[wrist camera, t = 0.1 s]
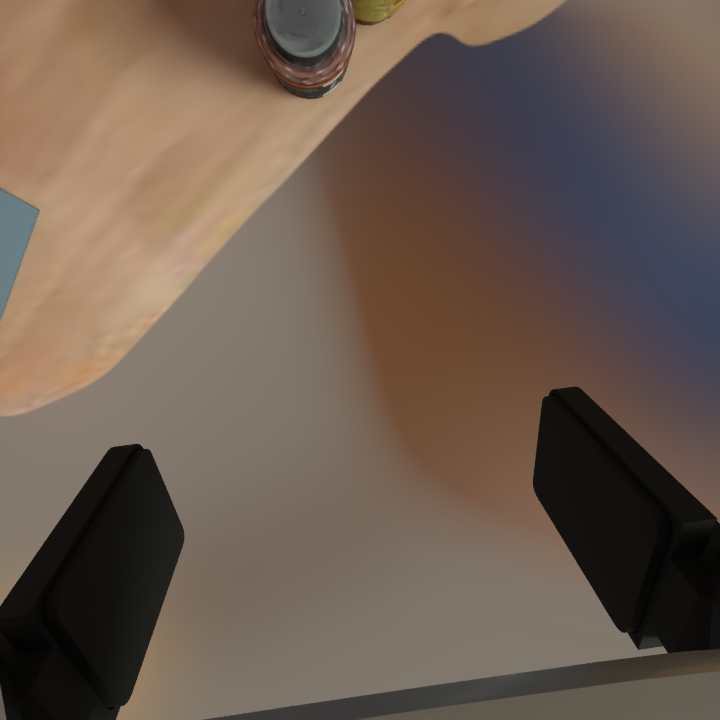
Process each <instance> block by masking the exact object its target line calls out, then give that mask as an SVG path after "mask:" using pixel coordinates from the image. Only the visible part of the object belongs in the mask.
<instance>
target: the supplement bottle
mask: <svg viewBox="0 0 720 720" xmlns="http://www.w3.org/2000/svg"><path fill="white" fill-rule="evenodd" d="M253 20H254V30H255V36H256V40H257V43H258V46H259V49H260V51H261V53H262V55H263V57H264V58H265V60H266V61H267V63H268V65H269V66H270V68H271V69H272V71H273V72H274V74H275V76H276V77H277V79H278V80H279V82H280V83H281V84H282V86H283V87H284V88H285V89H286V90H288V91H289V92H291V93H292V94H294V95H296V96H298V97H301V98H305V99H317V98H320V97H323V96H325V95H327V94H329V93H330V92H332V91H333V90H334V89H335V88H336V87H337V86H338V85H339V83H340V82H341V81H342V78H343V76H344V74H345V72H346V69H347V67H348V63H349V60H350V56H351V54H352V50H353V46H354V41H355V32H356V23H355V14H354V9H353V5H352V2H351V0H255V5H254V14H253Z"/></svg>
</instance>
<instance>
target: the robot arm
mask: <svg viewBox="0 0 720 720" xmlns="http://www.w3.org/2000/svg"><path fill="white" fill-rule="evenodd" d="M533 487H534V491H535V493H536V496H537V497H538V499H539V501H540V502H541V504H542V506H543V507H544V509H545V511H546V512H547V514H548V516H549V517H550V519H551V520H552V522H553V523H554V525H555V527H556V529H557V530H558V532H559V534H560V535H561V537H562V538H563V540H564V542H565V544H566V545H567V547H568V548H569V550H570V552H571V553H572V555H573V557H574V558H575V560H576V561H577V563H578V565H579V567H580V568H581V570H582V572H583V573H584V575H585V576H586V578H587V580H588V581H589V583H590V585H591V586H592V588H593V590H594V591H595V593H596V595H597V596H598V598H599V600H600V601H601V603H602V604H603V606H604V608H605V609H606V611H607V613H608V614H609V616H610V617H611V619H612V621H613V623H614V624H615V625H616V627H617V628H618V629H619V630H620V631H621V632H623V633H625V632H627V633H628V634H629V636H630V637H631V639H632V641H633V642H634V644H635V645H636V647H637V649H638V650H640V649H647V648H653V647H660V646H664V648H665V649H666V651H667V652H668V653H667V654H659V655H651V656H643V657H635V658H626V659H618V660H610V661H602V662H594V663H586V664H580V665H572V666H565V667H558V668H551V669H544V670H537V671H530V672H523V673H516V674H509V675H502V676H495V677H488V678H480V679H473V680H467V681H459V682H453V683H446V684H439V685H432V686H425V687H418V688H411V689H404V690H398V691H391V692H384V693H378V694H371V695H364V696H357V697H350V698H343V699H337V700H330V701H323V702H316V703H310V704H303V705H297V706H289V707H283V708H276V709H270V710H263V711H257V712H250V713H243V714H237V715H230V716H224V717H217V718H211V719H204V720H720V523H718V522H717V518H716V517H715V516H714V515H713V514H712V513H711V512H710V511H709V510H708V509H707V508H706V507H705V506H704V505H702V504H701V503H700V502H699V501H698V500H697V499H696V498H695V497H694V496H693V495H692V494H691V493H690V492H689V491H688V490H687V489H686V488H685V487H684V486H682V485H681V484H680V483H679V482H678V481H677V480H676V479H675V478H674V477H673V476H672V475H671V474H670V473H669V472H667V470H666V469H665V468H664V467H663V466H661V465H660V464H659V463H658V462H657V461H656V460H655V459H654V458H653V457H652V456H651V455H650V454H649V453H648V452H647V451H646V450H645V449H643V447H641V446H640V445H639V444H638V443H637V442H636V441H635V440H634V439H633V438H632V437H631V436H630V435H629V434H628V433H627V432H626V431H625V430H624V429H623V428H621V427H620V426H619V425H618V424H617V423H616V422H615V421H614V420H613V419H612V418H611V417H610V416H609V415H608V414H607V413H606V412H605V411H604V410H603V409H602V408H600V407H599V406H598V405H597V404H596V403H595V402H594V401H593V400H592V399H591V398H590V397H589V396H588V395H587V394H586V393H585V392H583V390H582V389H580V388H579V387H568V388H561V389H553V390H551V391H550V393H549V396H546V397H544V398H543V401H542V407H541V417H540V425H539V433H538V442H537V450H536V459H535V467H534V476H533ZM183 543H184V530H183V527H182V524H181V522H180V520H179V517H178V515H177V513H176V510H175V508H174V505H173V503H172V500H171V498H170V496H169V493H168V491H167V489H166V486H165V484H164V482H163V479H162V477H161V474H160V472H159V470H158V467H157V465H156V463H155V460H154V458H153V456H152V453H151V451H150V450H149V449H143V447H142V446H141V445H140V444H132V445H125V446H117V447H112V448H110V449H109V450H108V451H107V453H106V454H105V456H104V457H103V459H102V460H101V462H100V463H99V465H98V466H97V468H96V469H95V470H94V472H93V473H92V475H91V476H90V477H89V479H88V480H87V482H86V483H85V485H84V486H83V488H82V489H81V490H80V492H79V493H78V495H77V496H76V498H75V499H74V501H73V502H72V503H71V505H70V506H69V508H68V509H67V511H66V512H65V514H64V515H63V517H62V518H61V519H60V521H59V522H58V524H57V525H56V527H55V528H54V529H53V531H52V532H51V534H50V535H49V537H48V538H47V540H46V541H45V542H44V544H43V545H42V547H41V548H40V550H39V551H38V552H37V554H36V555H35V557H34V558H33V560H32V561H31V563H30V564H29V565H28V567H27V568H26V570H25V571H24V573H23V574H22V576H21V577H20V579H19V580H18V581H17V583H16V584H15V586H14V587H13V588H12V590H11V591H10V593H9V594H8V596H7V597H6V599H5V600H4V602H3V603H2V604H1V606H0V720H116V718H117V715H118V712H119V709H120V706H124V705H125V704H126V703H127V702H128V700H129V699H130V697H131V694H132V692H133V689H134V686H135V683H136V680H137V677H138V674H139V671H140V668H141V666H142V663H143V660H144V657H145V654H146V651H147V648H148V645H149V642H150V640H151V637H152V634H153V631H154V628H155V625H156V622H157V619H158V616H159V613H160V611H161V607H162V604H163V601H164V599H165V596H166V593H167V590H168V587H169V584H170V581H171V579H172V575H173V572H174V570H175V566H176V564H177V561H178V558H179V555H180V552H181V549H182V547H183Z"/></svg>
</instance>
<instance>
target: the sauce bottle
mask: <svg viewBox="0 0 720 720" xmlns="http://www.w3.org/2000/svg"><path fill="white" fill-rule="evenodd" d="M351 2H352V5H353V9H354V14H355V22H357V23H360V24H362V25H374V24H377V23H380V22H381V21H384V20H385V19H387V18H390V17H391V16H392V15H393V14H394V13H395V12H396V11H397V10H398V9H399V8H400V7H401V6H402V5H403V3H404V2H405V0H351Z"/></svg>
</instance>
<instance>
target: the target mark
mask: <svg viewBox="0 0 720 720" xmlns="http://www.w3.org/2000/svg"><path fill="white" fill-rule="evenodd" d="M39 211H40V210H39V209H37V208H35V207H33V206H31V205H30V204H28V203H26V202H24V201H22V200H21V199H19V198H17V197H15V196H13V195H12V194H10V193H8V192H6V191H4V190H2V189H1V188H0V320H1V317H2V315H3V312H4V309H5V306H6V303H7V301H8V298H9V295H10V292H11V289H12V287H13V284H14V281H15V278H16V275H17V273H18V270H19V267H20V264H21V261H22V259H23V256H24V253H25V250H26V247H27V245H28V242H29V239H30V236H31V233H32V231H33V228H34V225H35V222H36V219H37V217H38V214H39Z"/></svg>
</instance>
